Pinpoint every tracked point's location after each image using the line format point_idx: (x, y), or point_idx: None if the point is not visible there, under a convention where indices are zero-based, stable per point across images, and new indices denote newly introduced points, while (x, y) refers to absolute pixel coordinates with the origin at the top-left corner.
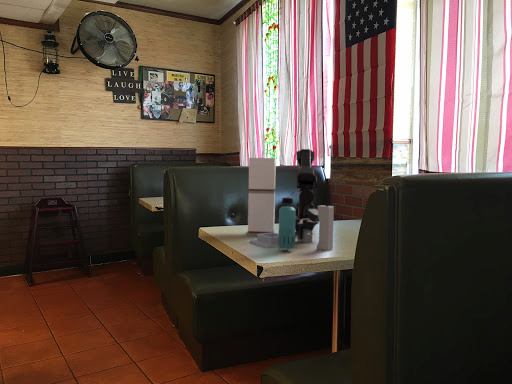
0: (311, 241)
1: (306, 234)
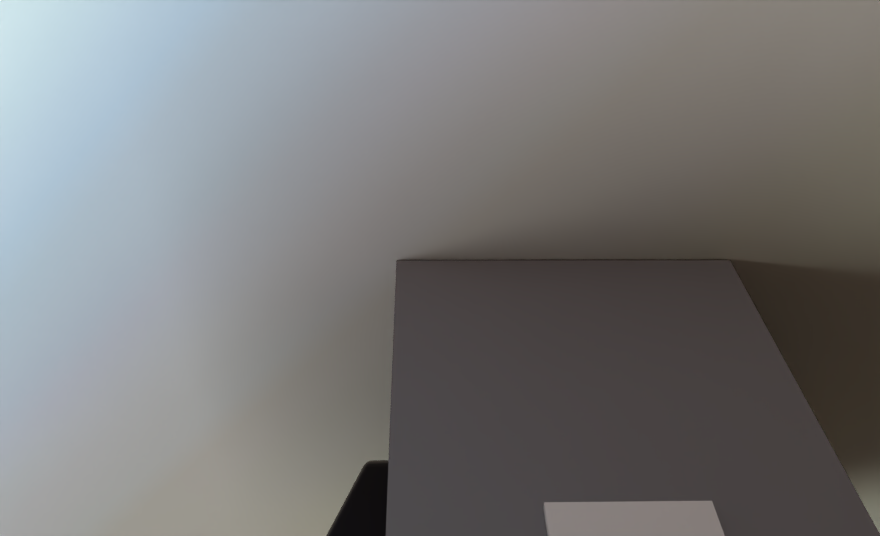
0: (425, 282)
1: (779, 516)
